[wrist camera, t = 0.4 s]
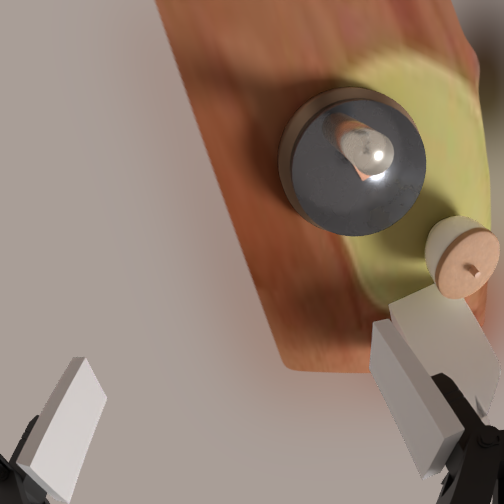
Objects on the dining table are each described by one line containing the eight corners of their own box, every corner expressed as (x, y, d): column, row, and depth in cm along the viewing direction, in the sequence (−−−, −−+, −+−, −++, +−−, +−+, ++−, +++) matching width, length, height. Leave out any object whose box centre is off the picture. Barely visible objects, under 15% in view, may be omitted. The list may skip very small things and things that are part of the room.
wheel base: (373, 60, 28) (381, 60, 26) (433, 179, 35) (441, 185, 34) (246, 143, 33) (246, 147, 31) (326, 249, 40) (330, 257, 39)
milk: (449, 321, 50) (508, 435, 29) (396, 345, 53) (443, 470, 31) (449, 276, 44) (530, 405, 22) (388, 304, 47) (451, 451, 25)
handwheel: (434, 184, 33) (487, 229, 24) (334, 249, 38) (361, 312, 29) (380, 72, 26) (439, 82, 17) (260, 150, 31) (270, 190, 22)
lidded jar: (407, 220, 39) (441, 261, 31) (468, 192, 36) (508, 225, 28) (417, 277, 44) (444, 319, 36) (472, 250, 42) (504, 286, 34)
